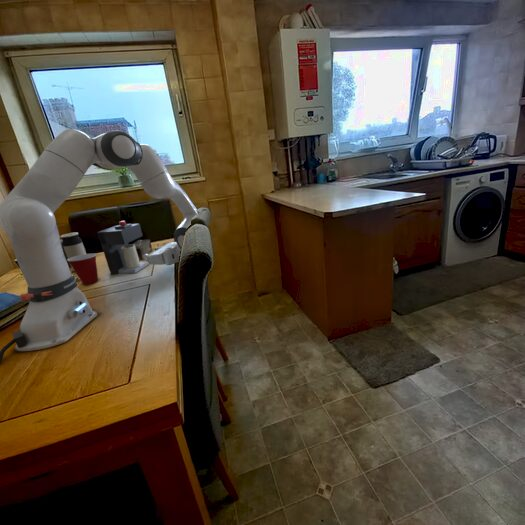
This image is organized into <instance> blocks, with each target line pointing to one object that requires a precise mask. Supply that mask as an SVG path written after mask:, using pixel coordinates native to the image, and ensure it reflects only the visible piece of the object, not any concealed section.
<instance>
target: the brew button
mask: <svg viewBox="0 0 525 525" xmlns="http://www.w3.org/2000/svg"><path fill="white" fill-rule="evenodd" d="M118 223H119V225H121V226H122V225H126V224H127V222H126V220H121V221H118Z"/></svg>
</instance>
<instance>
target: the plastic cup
mask: <svg viewBox="0 0 525 525" xmlns="http://www.w3.org/2000/svg"><path fill="white" fill-rule="evenodd" d="M97 254H98V253H86V254H84V255H79V256H75V257H71V258H69V259H67V261H69V263H70V264H71V266H72V267H73V269H74V270H75V271H74V272H75V274H76V276H77V277H78V279H79V280H80V282H81V283H82V284H83V285H84V286H85V285H91V284H95V283H97V282H98V281H99V277H98V268H97Z"/></svg>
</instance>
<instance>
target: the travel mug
mask: <svg viewBox="0 0 525 525" xmlns="http://www.w3.org/2000/svg"><path fill="white" fill-rule="evenodd" d="M59 236H60V239H61V240H63V241H62V244H63V247H64V250H65V252H66V255H67V257H68V259H69V258H71V257H75V256H79V255H84V254H87V252H86V248H85V246H84V243H83V241H82V238H81V237H80V236H79V232H69V233H64V234H62V235H59ZM70 265H71V264H70ZM70 268H71V272H75V270H74V269H73V267H72V266H71V267H70Z"/></svg>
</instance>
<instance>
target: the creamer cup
mask: <svg viewBox="0 0 525 525" xmlns="http://www.w3.org/2000/svg"><path fill="white" fill-rule="evenodd" d="M121 251H122V254H123V257H124V261H125V264H126V267H127V268H134V267H137V266H139V265H140V262H141V261H140V259H139V258H138V254H137V251H136V247H135V245H132V244H129V245H126V246H123V247H121Z"/></svg>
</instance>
